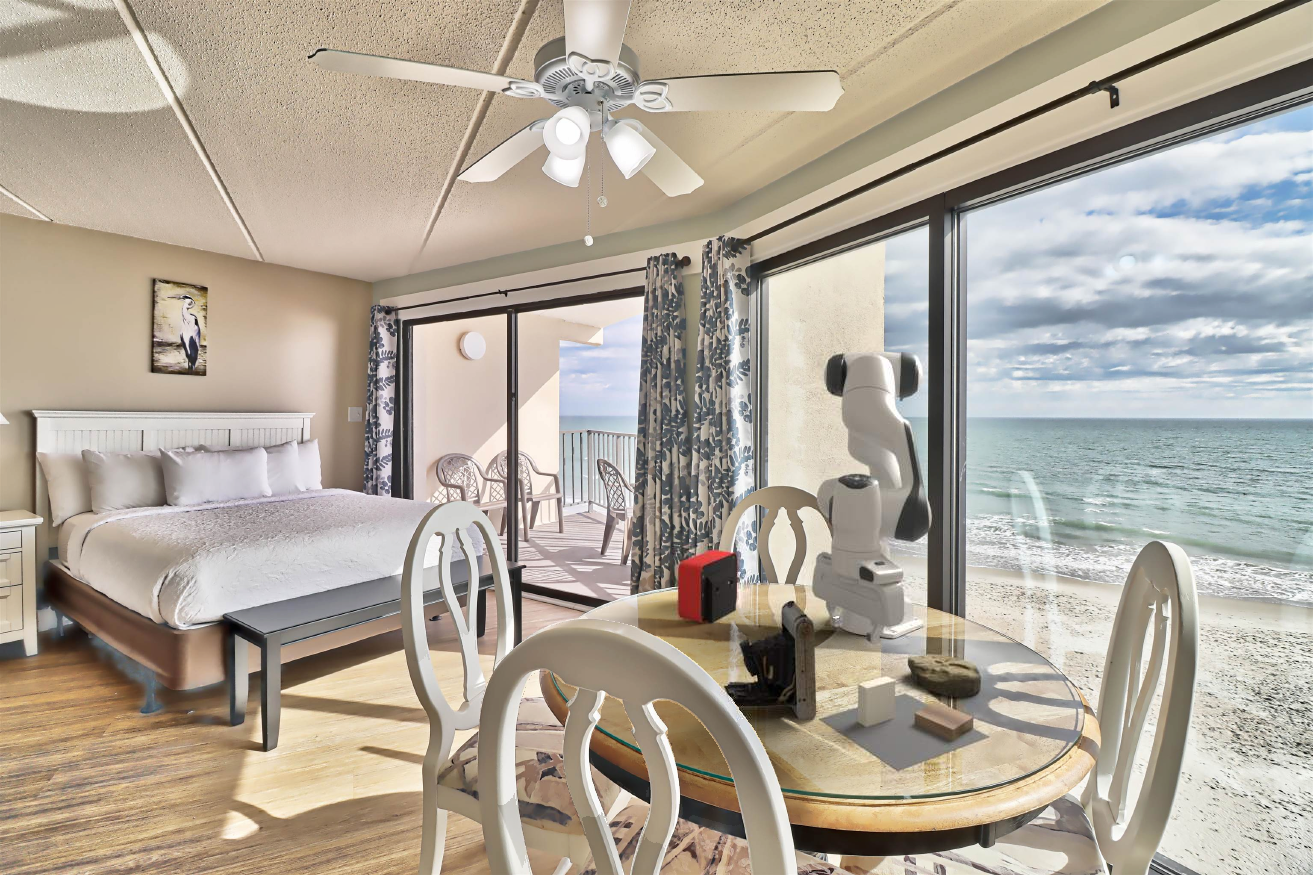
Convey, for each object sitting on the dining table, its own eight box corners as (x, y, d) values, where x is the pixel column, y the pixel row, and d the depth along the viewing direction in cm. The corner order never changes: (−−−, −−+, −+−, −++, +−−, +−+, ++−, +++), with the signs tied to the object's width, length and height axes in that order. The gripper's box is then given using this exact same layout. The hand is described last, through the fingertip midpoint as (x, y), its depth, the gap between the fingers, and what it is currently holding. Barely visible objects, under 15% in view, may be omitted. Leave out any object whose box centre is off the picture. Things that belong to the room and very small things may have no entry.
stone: (958, 707, 119) (959, 680, 119) (897, 681, 130) (898, 656, 130) (994, 690, 126) (995, 665, 126) (934, 667, 137) (934, 643, 137)
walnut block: (935, 712, 115) (935, 701, 115) (973, 728, 110) (973, 717, 110) (914, 724, 111) (914, 713, 111) (952, 740, 106) (953, 729, 106)
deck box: (885, 712, 115) (886, 675, 115) (894, 717, 113) (895, 680, 113) (857, 721, 112) (857, 683, 112) (866, 726, 110) (866, 688, 110)
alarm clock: (743, 607, 177) (744, 552, 176) (707, 628, 161) (707, 567, 160) (714, 601, 183) (714, 548, 182) (676, 620, 166) (676, 562, 166)
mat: (905, 696, 123) (905, 693, 123) (989, 740, 107) (989, 736, 107) (818, 721, 113) (818, 718, 113) (897, 774, 97) (897, 770, 97)
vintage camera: (723, 703, 121) (720, 603, 120) (800, 697, 122) (799, 598, 121) (733, 730, 112) (730, 622, 110) (817, 723, 113) (816, 616, 111)
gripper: (805, 551, 125) (804, 618, 126) (885, 578, 106) (883, 657, 107) (829, 547, 127) (828, 613, 128) (911, 573, 109) (909, 649, 110)
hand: (853, 633), depth 118 cm, fingers open, 8 cm apart
